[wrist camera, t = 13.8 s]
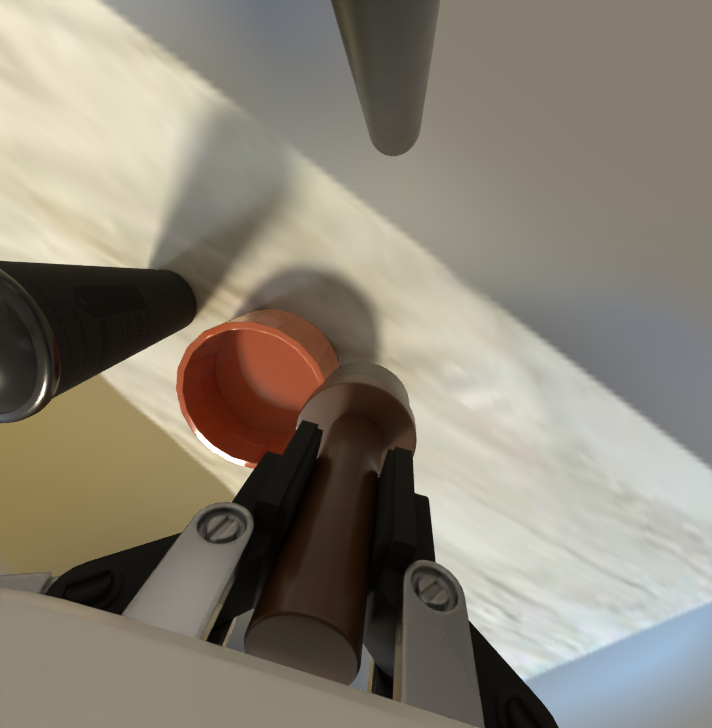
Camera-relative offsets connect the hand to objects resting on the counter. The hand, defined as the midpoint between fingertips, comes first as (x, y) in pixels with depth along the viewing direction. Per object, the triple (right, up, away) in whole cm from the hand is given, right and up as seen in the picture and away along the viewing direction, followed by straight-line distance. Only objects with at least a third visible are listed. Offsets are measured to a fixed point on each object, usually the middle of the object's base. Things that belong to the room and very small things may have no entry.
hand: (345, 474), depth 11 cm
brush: (+1, +2, +5) cm, 6 cm away
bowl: (-6, +3, +17) cm, 19 cm away
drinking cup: (-15, +9, +17) cm, 24 cm away
